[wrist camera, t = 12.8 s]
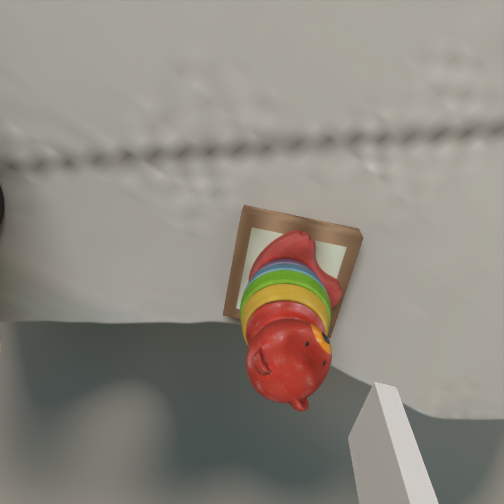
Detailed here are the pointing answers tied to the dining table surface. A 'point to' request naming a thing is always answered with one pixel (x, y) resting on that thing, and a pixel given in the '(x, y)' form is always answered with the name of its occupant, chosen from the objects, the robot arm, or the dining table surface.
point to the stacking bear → (288, 320)
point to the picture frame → (273, 226)
